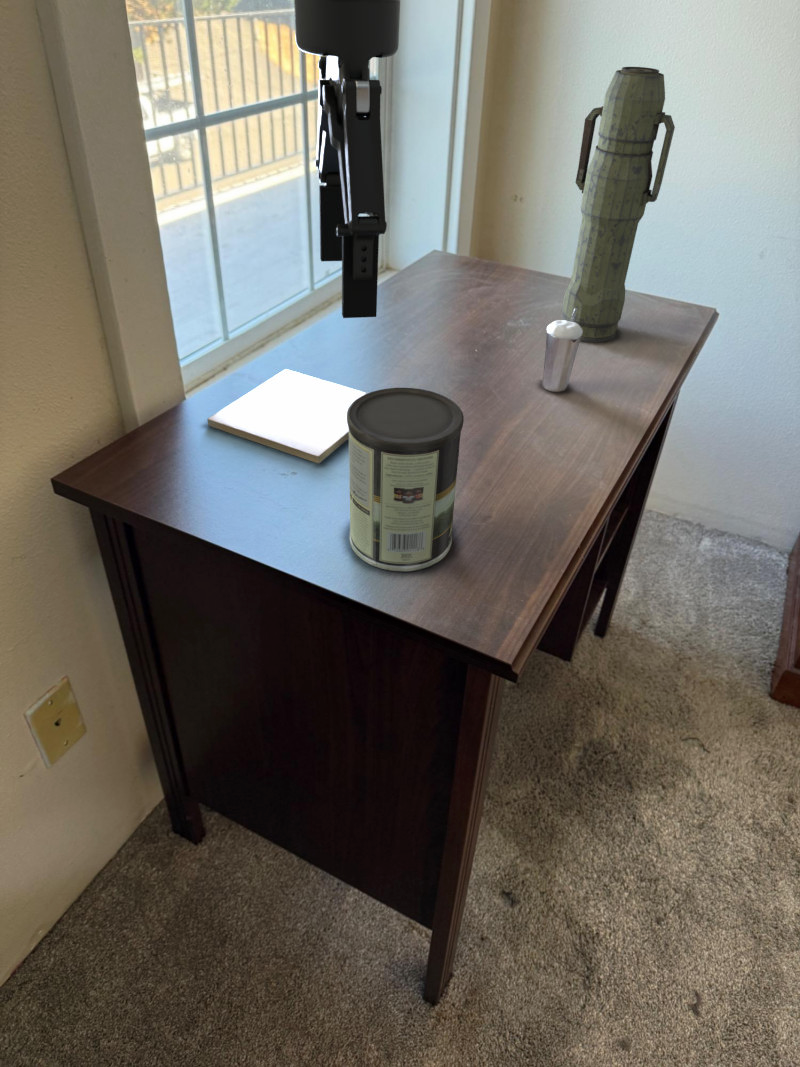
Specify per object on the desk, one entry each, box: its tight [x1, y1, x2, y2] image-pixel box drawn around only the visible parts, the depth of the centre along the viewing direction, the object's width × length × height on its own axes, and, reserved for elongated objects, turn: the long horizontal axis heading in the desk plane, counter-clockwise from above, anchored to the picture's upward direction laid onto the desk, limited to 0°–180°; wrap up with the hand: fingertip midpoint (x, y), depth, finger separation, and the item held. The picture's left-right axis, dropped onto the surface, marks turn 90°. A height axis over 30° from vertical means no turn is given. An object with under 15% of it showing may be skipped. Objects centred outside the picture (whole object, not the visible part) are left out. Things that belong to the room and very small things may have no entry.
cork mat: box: [206, 368, 368, 465], centre depth 92 cm, size 16×16×1 cm
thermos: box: [561, 66, 676, 343], centre depth 106 cm, size 9×12×35 cm
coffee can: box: [347, 387, 465, 572], centre depth 70 cm, size 10×10×14 cm
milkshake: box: [541, 308, 583, 393], centre depth 98 cm, size 4×5×10 cm
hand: (346, 286), depth 66 cm, fingers open, 13 cm apart
